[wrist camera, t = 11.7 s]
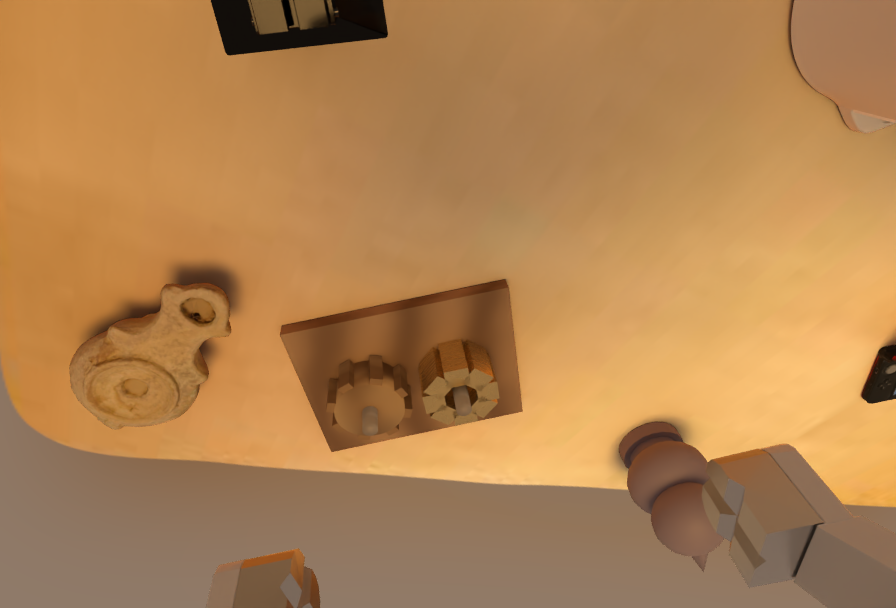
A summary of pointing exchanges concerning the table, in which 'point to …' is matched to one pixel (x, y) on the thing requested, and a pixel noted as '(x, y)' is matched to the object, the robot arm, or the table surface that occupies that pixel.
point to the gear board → (398, 362)
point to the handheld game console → (882, 377)
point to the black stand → (296, 23)
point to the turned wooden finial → (670, 488)
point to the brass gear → (457, 381)
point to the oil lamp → (151, 359)
